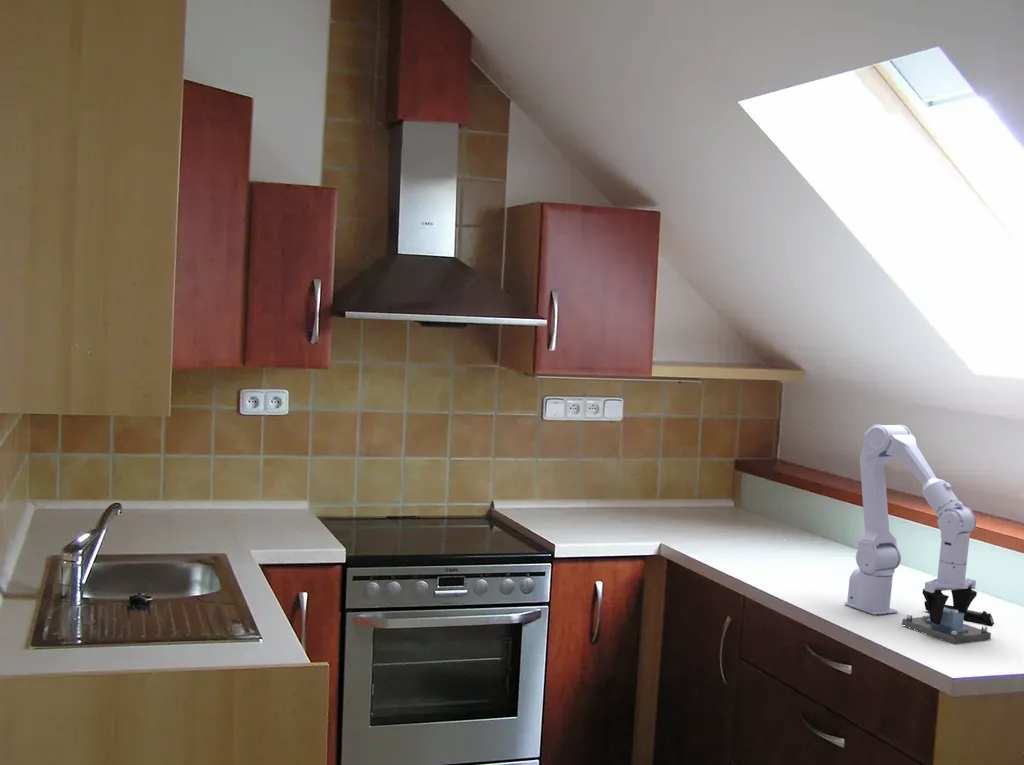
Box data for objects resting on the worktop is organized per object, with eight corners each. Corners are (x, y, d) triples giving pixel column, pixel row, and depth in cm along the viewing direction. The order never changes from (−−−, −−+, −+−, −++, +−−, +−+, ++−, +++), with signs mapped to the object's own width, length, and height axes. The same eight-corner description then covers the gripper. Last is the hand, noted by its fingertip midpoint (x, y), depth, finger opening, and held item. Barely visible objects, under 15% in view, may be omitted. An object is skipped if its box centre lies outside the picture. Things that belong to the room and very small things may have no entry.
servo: (925, 627, 251) (927, 603, 251) (935, 626, 253) (938, 602, 252) (957, 638, 244) (959, 613, 243) (967, 637, 245) (970, 612, 245)
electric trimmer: (925, 611, 268) (926, 598, 268) (994, 624, 260) (995, 611, 260) (921, 614, 265) (922, 601, 265) (991, 627, 257) (992, 614, 257)
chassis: (901, 625, 251) (903, 614, 251) (937, 621, 257) (938, 610, 257) (953, 644, 239) (955, 632, 239) (990, 639, 245) (991, 628, 245)
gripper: (946, 567, 240) (939, 629, 241) (989, 564, 248) (983, 624, 248) (919, 560, 246) (913, 620, 247) (962, 557, 254) (956, 615, 255)
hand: (946, 621), depth 248 cm, fingers open, 7 cm apart
